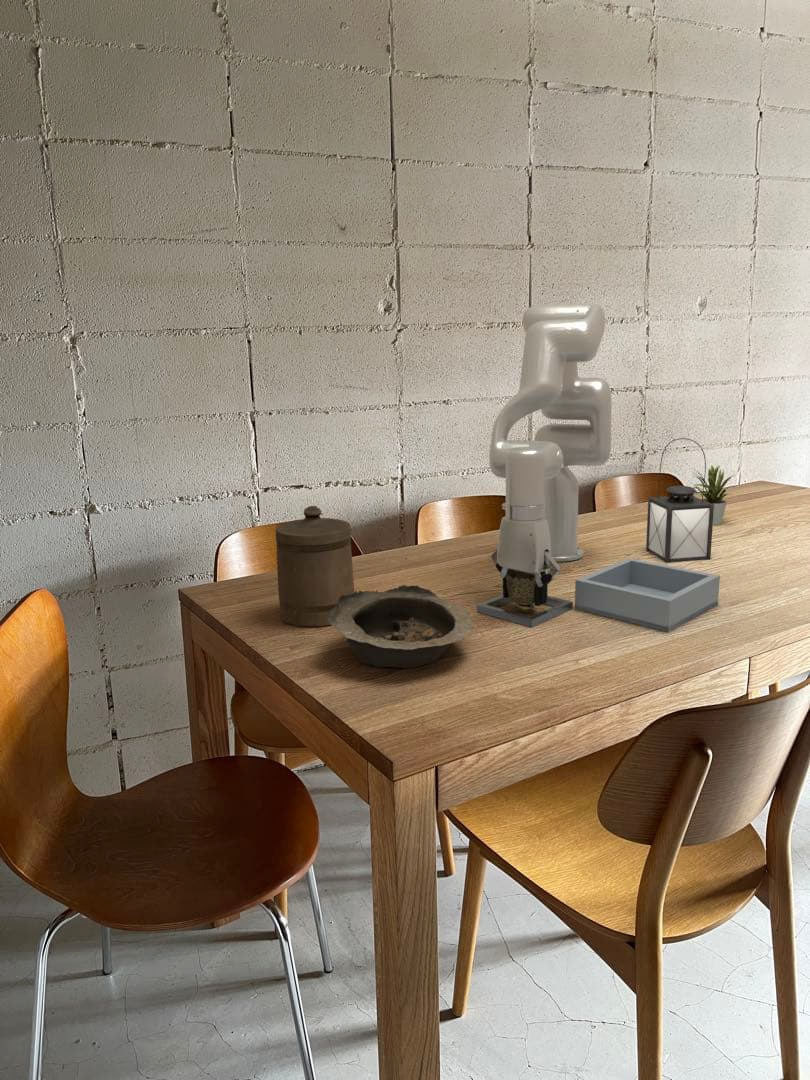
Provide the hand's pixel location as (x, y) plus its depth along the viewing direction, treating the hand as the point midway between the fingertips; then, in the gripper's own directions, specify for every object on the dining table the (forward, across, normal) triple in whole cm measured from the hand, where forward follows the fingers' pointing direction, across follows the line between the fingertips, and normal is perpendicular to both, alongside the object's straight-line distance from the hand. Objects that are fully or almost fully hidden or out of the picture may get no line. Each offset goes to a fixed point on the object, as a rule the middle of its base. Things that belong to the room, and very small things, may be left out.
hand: (524, 599), depth 166 cm
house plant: (+2, -5, +90) cm, 90 cm away
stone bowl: (+3, -3, -31) cm, 31 cm away
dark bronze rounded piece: (+3, 0, 0) cm, 3 cm away
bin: (+2, +17, +17) cm, 24 cm away
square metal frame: (+2, 0, 0) cm, 2 cm away
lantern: (+3, +4, +55) cm, 55 cm away
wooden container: (+3, -30, -28) cm, 41 cm away
